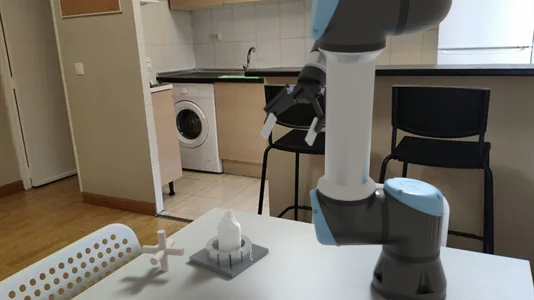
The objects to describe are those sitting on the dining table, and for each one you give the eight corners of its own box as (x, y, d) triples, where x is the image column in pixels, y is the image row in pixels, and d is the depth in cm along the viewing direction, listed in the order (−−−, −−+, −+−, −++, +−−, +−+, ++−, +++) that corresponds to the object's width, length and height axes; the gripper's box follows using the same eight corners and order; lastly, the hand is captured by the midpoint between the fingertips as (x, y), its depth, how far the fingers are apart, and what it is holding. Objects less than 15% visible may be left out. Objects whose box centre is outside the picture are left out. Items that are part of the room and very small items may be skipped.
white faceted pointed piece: (220, 202, 109) (242, 203, 108) (223, 246, 112) (244, 247, 111) (212, 212, 103) (235, 213, 102) (216, 258, 107) (238, 259, 105)
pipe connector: (176, 282, 99) (172, 242, 96) (136, 279, 101) (130, 240, 98) (192, 260, 108) (189, 223, 106) (155, 257, 110) (150, 221, 108)
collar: (268, 253, 111) (268, 239, 110) (232, 278, 100) (231, 263, 99) (227, 239, 119) (226, 226, 118) (189, 261, 108) (188, 247, 107)
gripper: (362, 83, 113) (334, 153, 105) (283, 80, 127) (253, 141, 120) (353, 64, 107) (323, 137, 100) (271, 63, 122) (240, 126, 114)
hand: (285, 139), depth 110 cm, fingers open, 13 cm apart
